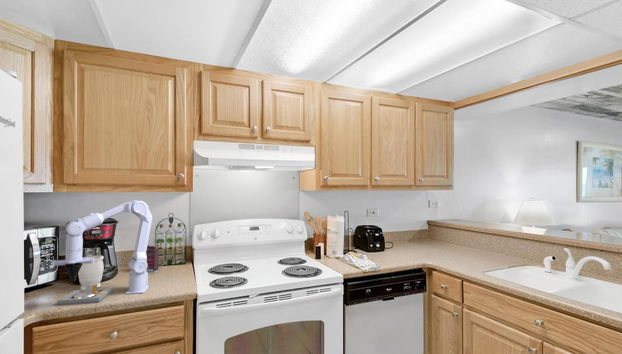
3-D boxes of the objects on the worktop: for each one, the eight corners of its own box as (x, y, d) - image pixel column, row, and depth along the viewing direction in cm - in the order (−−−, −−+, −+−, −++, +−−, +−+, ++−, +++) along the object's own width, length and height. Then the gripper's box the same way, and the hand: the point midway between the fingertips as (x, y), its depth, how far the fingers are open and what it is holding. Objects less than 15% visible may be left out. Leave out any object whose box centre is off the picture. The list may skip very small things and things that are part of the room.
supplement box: (158, 270, 180) (159, 244, 181) (154, 273, 175) (154, 246, 176) (145, 270, 181) (145, 244, 181) (140, 272, 176) (140, 245, 176)
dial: (68, 299, 132) (68, 287, 132) (85, 292, 140) (85, 281, 141) (87, 300, 131) (87, 288, 131) (103, 293, 140) (103, 281, 140)
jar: (104, 287, 150) (105, 257, 150) (78, 292, 143) (79, 261, 144) (101, 282, 158) (102, 254, 158) (76, 287, 151) (77, 257, 152)
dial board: (74, 294, 140) (74, 289, 140) (112, 292, 143) (112, 287, 144) (57, 305, 128) (57, 299, 128) (98, 302, 131) (98, 297, 131)
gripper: (49, 252, 123) (48, 286, 122) (91, 250, 128) (90, 282, 128) (56, 249, 129) (55, 281, 129) (96, 247, 135) (95, 277, 134)
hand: (73, 281), depth 129 cm, fingers closed
